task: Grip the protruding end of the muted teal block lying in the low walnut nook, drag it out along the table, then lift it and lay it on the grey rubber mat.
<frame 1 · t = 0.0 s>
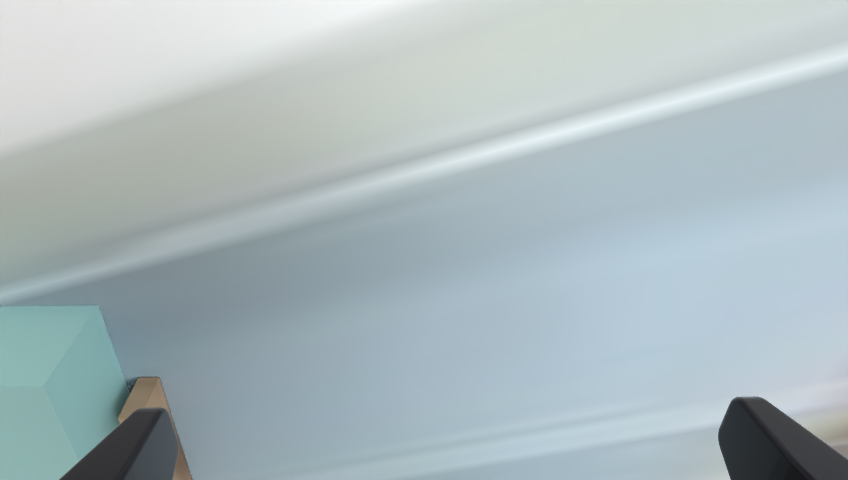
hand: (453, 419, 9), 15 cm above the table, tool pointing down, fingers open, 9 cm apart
blank block: (73, 375, 29), on the table
walnut nook: (95, 433, 31), on the table
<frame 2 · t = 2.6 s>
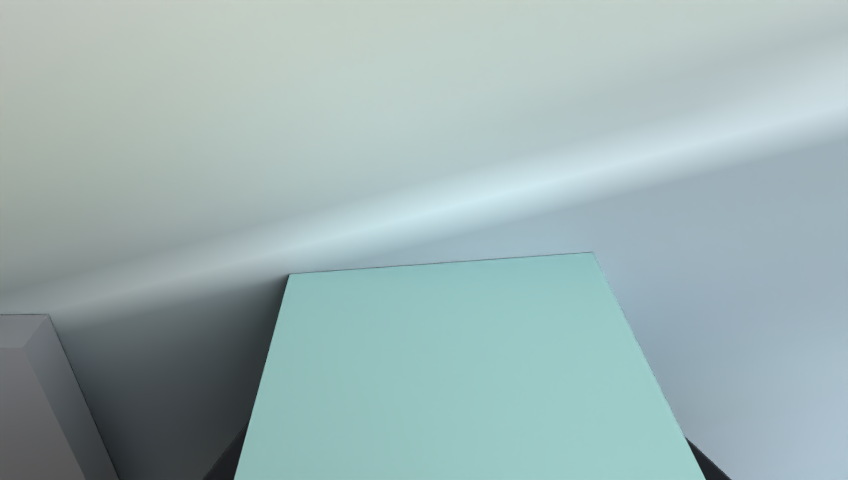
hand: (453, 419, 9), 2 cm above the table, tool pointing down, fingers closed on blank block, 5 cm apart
blank block: (451, 442, 12), on the table, touching gripper
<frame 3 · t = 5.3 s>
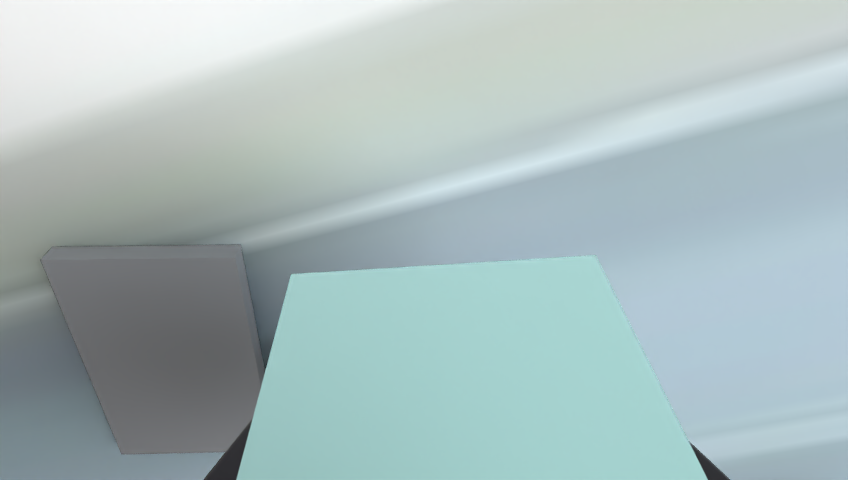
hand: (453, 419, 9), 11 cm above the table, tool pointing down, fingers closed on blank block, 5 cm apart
blank block: (451, 443, 12), point 9 cm above the table, touching gripper
rubber mat: (178, 352, 23), on the table
when the fingers open (2 cm above the table, at t = 8.0 s): blank block stays where it is, resting on rubber mat.
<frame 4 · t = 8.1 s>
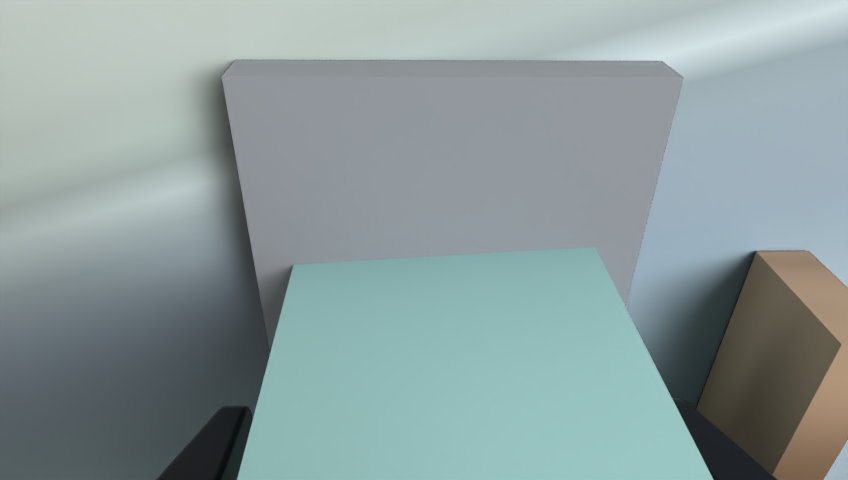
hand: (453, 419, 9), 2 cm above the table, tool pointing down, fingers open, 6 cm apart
blank block: (450, 435, 12), point 1 cm above the table, touching rubber mat
rubber mat: (441, 317, 11), on the table
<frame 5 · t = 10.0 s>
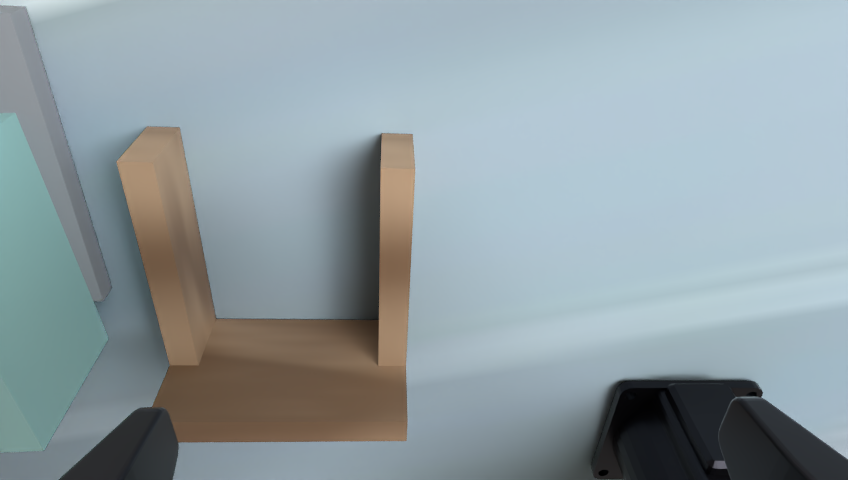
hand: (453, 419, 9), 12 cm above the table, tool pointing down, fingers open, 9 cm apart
walnut nook: (291, 234, 21), on the table
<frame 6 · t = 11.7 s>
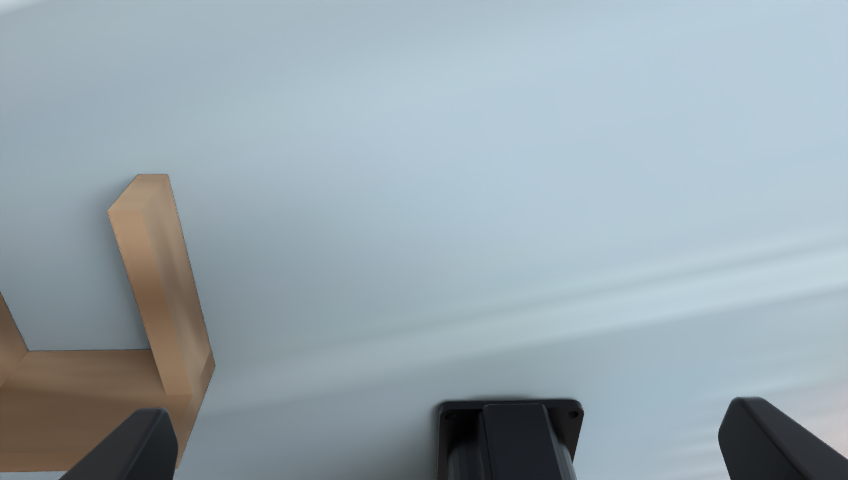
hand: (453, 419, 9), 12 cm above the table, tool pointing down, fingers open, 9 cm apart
walnut nook: (78, 271, 22), on the table
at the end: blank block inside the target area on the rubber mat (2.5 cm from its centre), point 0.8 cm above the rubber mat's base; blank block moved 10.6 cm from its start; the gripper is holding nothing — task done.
